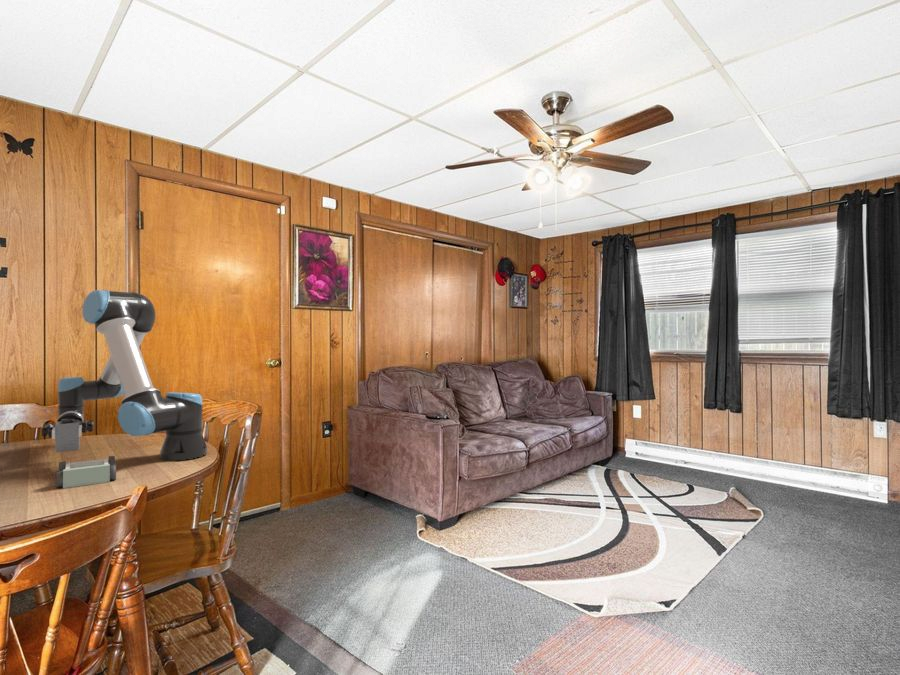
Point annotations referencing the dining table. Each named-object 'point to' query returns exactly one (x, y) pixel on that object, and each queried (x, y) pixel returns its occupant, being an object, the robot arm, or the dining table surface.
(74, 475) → the toy car chassis
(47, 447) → the dining table surface
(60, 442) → the grey upright block
